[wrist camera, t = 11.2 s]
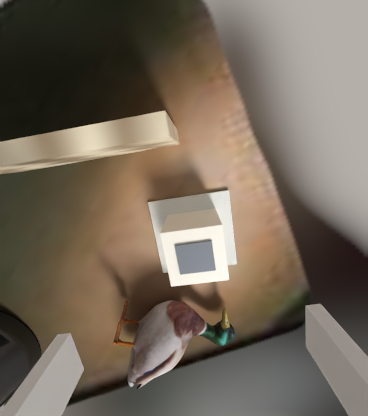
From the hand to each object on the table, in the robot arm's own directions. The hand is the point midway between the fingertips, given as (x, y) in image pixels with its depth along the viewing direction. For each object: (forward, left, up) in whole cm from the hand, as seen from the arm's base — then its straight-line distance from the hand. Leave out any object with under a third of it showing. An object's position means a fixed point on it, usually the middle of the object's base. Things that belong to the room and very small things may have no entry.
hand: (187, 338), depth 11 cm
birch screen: (-10, +12, -15) cm, 22 cm away
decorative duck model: (-5, -14, -16) cm, 22 cm away
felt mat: (0, 0, -15) cm, 15 cm away
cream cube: (+1, 0, -15) cm, 15 cm away
